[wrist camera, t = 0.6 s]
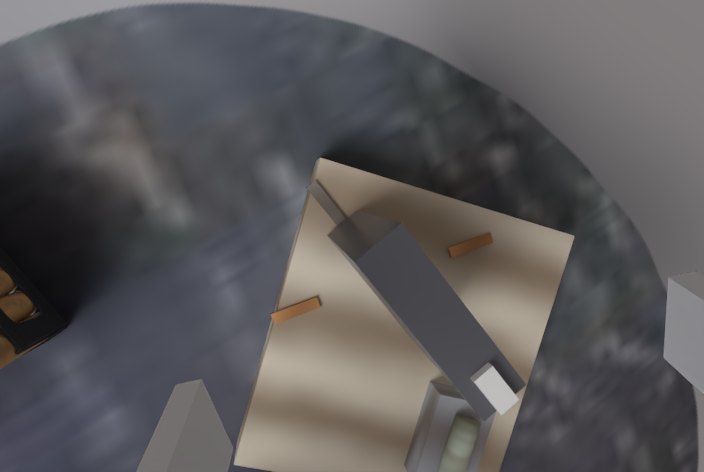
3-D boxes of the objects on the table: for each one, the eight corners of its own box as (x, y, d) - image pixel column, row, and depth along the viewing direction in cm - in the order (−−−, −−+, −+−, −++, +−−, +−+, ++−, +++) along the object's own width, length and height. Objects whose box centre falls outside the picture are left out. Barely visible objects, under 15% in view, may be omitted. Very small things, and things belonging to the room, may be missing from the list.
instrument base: (469, 480, 34) (511, 544, 28) (233, 437, 31) (221, 499, 25) (548, 231, 33) (610, 241, 27) (311, 159, 30) (320, 151, 24)
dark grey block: (327, 235, 27) (356, 263, 17) (357, 210, 27) (404, 223, 17) (414, 341, 29) (488, 426, 19) (442, 317, 29) (531, 388, 19)
